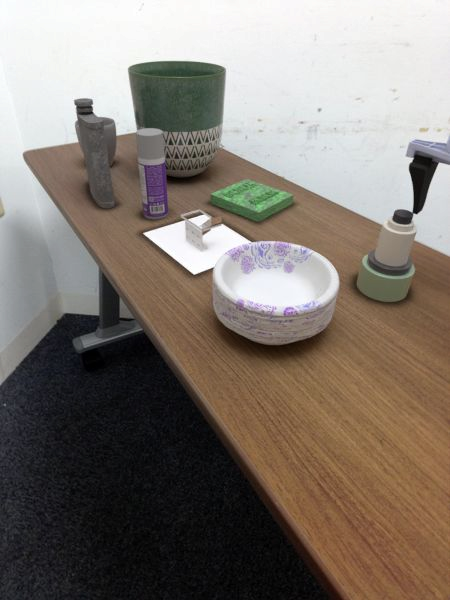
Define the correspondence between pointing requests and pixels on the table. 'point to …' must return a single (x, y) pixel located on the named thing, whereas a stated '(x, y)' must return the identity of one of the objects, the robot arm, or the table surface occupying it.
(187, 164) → the planter
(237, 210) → the green jade tablet
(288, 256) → the paper bowls
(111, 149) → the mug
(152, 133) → the container
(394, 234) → the small bottle
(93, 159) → the flask
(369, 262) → the green jar
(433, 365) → the table surface
